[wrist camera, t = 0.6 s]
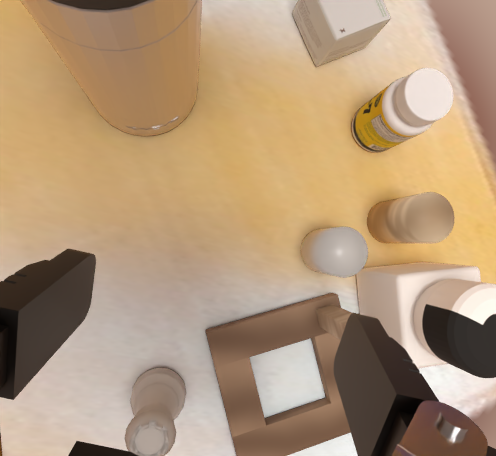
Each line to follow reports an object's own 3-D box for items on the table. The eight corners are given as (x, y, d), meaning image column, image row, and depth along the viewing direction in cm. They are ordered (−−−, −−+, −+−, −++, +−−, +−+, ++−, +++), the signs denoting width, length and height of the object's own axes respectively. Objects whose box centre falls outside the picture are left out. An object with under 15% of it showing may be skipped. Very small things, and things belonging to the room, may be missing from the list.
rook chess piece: (196, 388, 31) (199, 437, 23) (160, 430, 31) (150, 494, 23) (158, 354, 31) (147, 392, 23) (120, 396, 30) (96, 450, 22)
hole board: (205, 329, 32) (211, 364, 23) (332, 292, 34) (385, 311, 25) (239, 463, 32) (258, 552, 23) (363, 418, 34) (428, 483, 25)
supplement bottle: (375, 94, 35) (432, 48, 27) (405, 132, 35) (471, 99, 27) (340, 124, 34) (388, 87, 26) (371, 163, 35) (428, 138, 26)
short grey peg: (296, 234, 33) (314, 233, 28) (336, 224, 34) (361, 221, 29) (306, 277, 33) (326, 283, 28) (346, 266, 34) (373, 269, 29)
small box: (365, 49, 35) (393, 18, 30) (314, 69, 34) (335, 41, 30) (341, -6, 35) (366, -45, 30) (289, 13, 34) (306, -25, 29)
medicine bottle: (430, 335, 35) (553, 382, 23) (361, 345, 34) (453, 399, 22) (423, 261, 35) (541, 270, 23) (354, 268, 34) (441, 282, 22)
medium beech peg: (362, 206, 34) (402, 198, 28) (400, 197, 35) (447, 187, 29) (372, 247, 34) (415, 248, 28) (410, 237, 35) (459, 236, 29)
